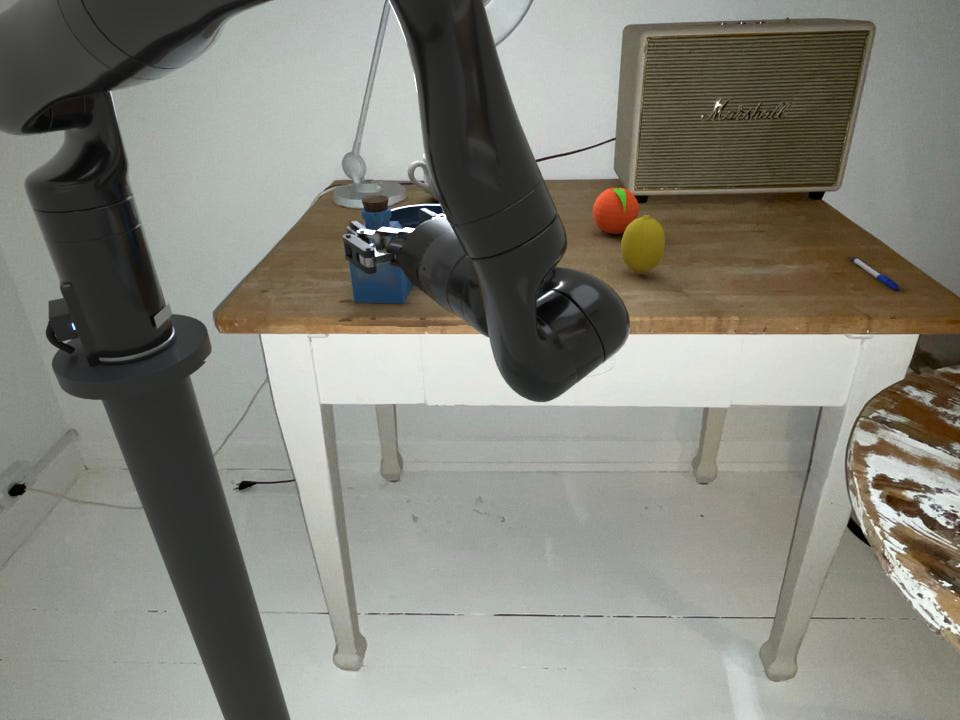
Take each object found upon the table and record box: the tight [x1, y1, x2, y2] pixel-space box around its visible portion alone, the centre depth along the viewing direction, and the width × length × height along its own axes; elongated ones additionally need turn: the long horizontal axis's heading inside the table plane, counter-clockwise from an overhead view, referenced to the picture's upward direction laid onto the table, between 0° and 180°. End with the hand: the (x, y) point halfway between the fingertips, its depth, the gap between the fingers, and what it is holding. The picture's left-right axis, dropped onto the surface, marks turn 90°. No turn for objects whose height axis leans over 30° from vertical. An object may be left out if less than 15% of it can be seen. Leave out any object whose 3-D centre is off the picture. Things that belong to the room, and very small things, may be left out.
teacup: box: [407, 153, 438, 201], centre depth 113 cm, size 14×11×8 cm
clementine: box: [592, 186, 640, 235], centre depth 96 cm, size 8×7×7 cm
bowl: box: [389, 203, 444, 229], centre depth 91 cm, size 14×14×5 cm
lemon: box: [620, 214, 666, 275], centre depth 82 cm, size 6×6×8 cm
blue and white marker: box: [851, 257, 900, 292], centre depth 82 cm, size 10×1×1 cm, turn 2°
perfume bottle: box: [348, 194, 414, 305], centre depth 77 cm, size 6×6×12 cm
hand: (387, 223), depth 72 cm, fingers open, 8 cm apart
